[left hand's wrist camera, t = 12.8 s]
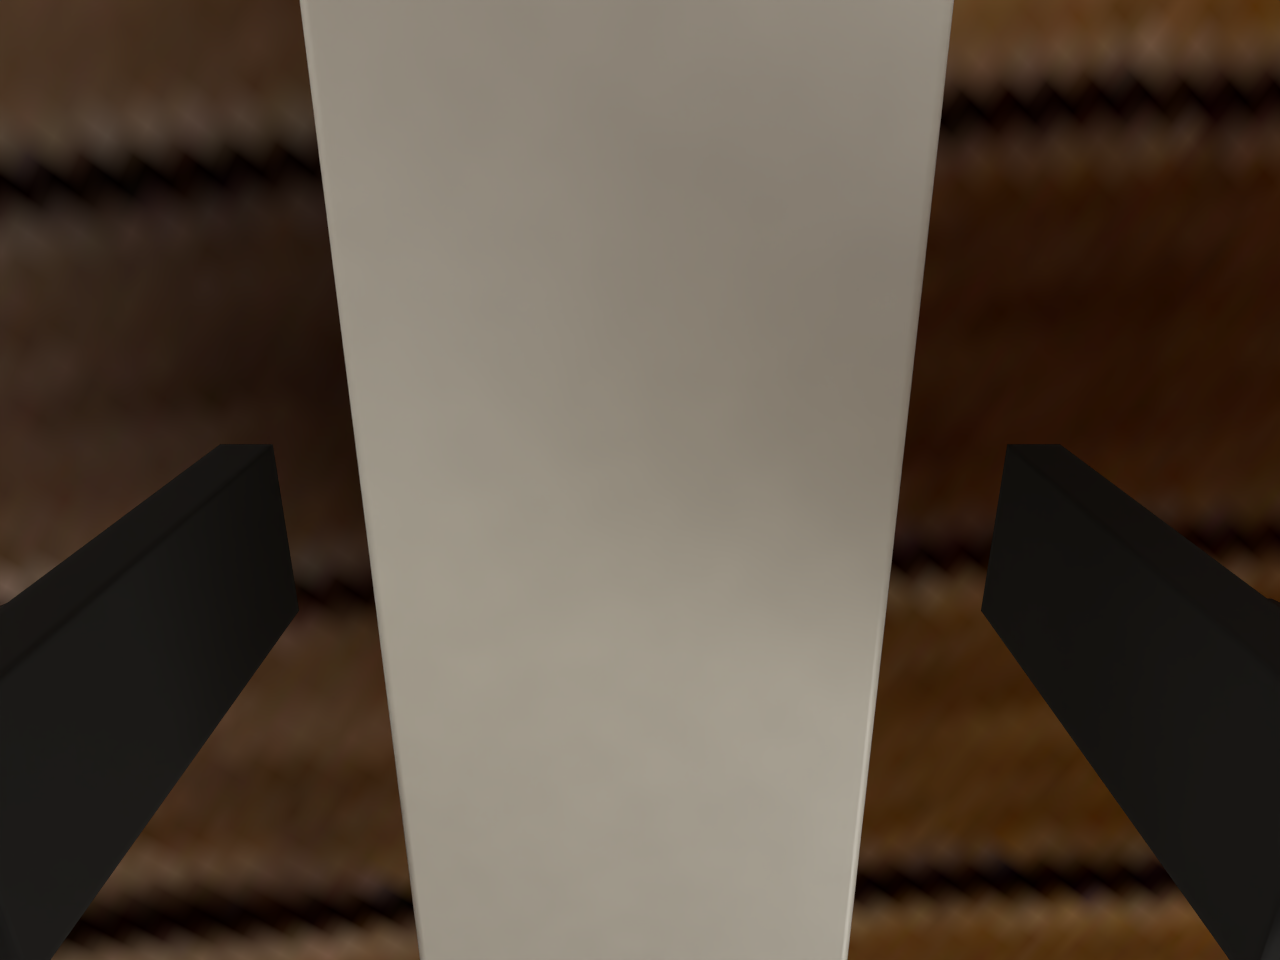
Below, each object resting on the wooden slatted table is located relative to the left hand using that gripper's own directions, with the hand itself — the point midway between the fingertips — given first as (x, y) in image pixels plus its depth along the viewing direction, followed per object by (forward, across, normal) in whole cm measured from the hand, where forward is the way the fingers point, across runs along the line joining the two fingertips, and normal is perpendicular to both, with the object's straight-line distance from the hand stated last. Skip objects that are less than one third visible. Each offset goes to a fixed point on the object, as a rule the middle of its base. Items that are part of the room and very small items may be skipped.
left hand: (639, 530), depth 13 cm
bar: (+3, 0, -25) cm, 25 cm away
